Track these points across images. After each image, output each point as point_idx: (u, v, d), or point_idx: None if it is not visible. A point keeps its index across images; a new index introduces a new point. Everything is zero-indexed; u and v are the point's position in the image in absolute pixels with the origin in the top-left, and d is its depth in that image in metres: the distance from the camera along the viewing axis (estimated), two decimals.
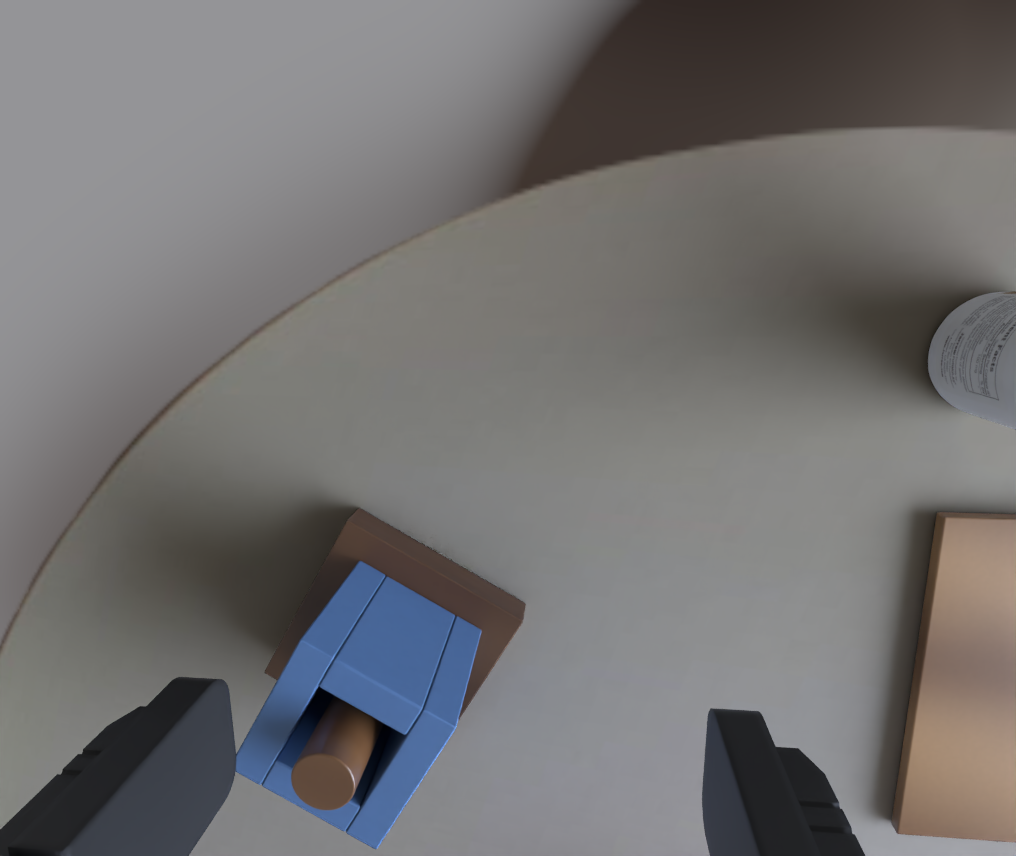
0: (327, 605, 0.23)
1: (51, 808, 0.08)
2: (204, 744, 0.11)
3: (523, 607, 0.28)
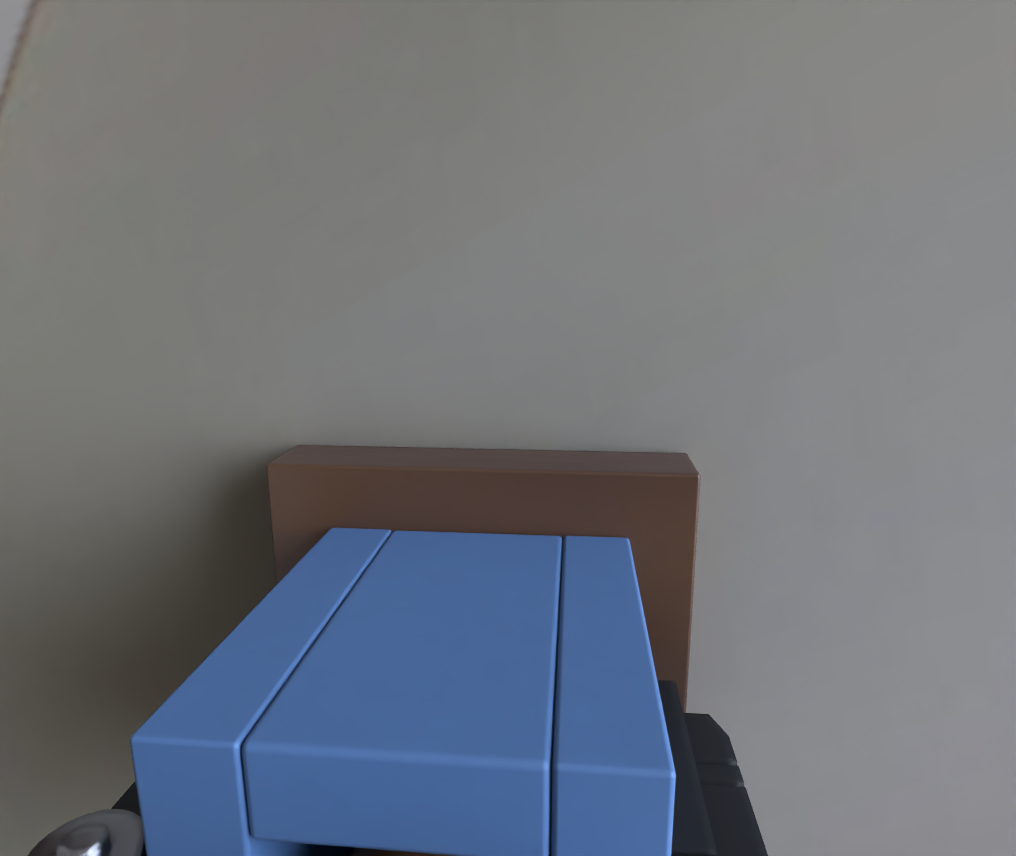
0: (237, 627, 0.09)
1: None
2: None
3: (686, 458, 0.13)
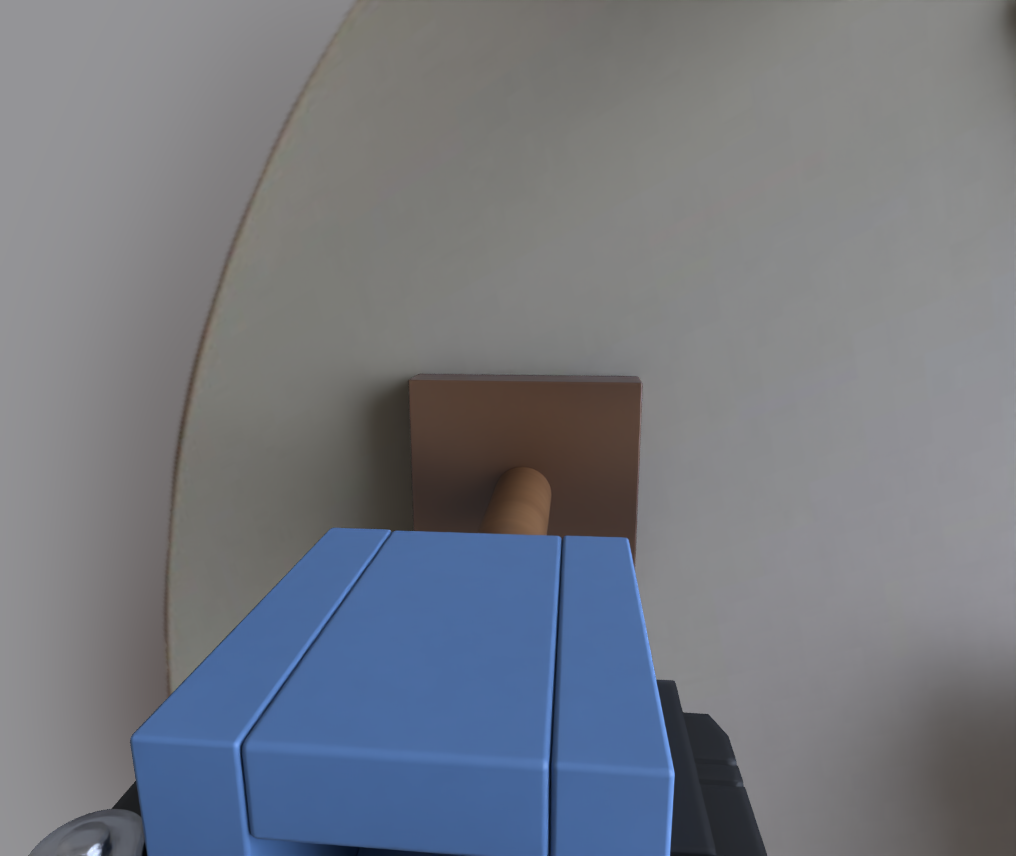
0: (238, 627, 0.09)
1: None
2: None
3: (637, 378, 0.24)
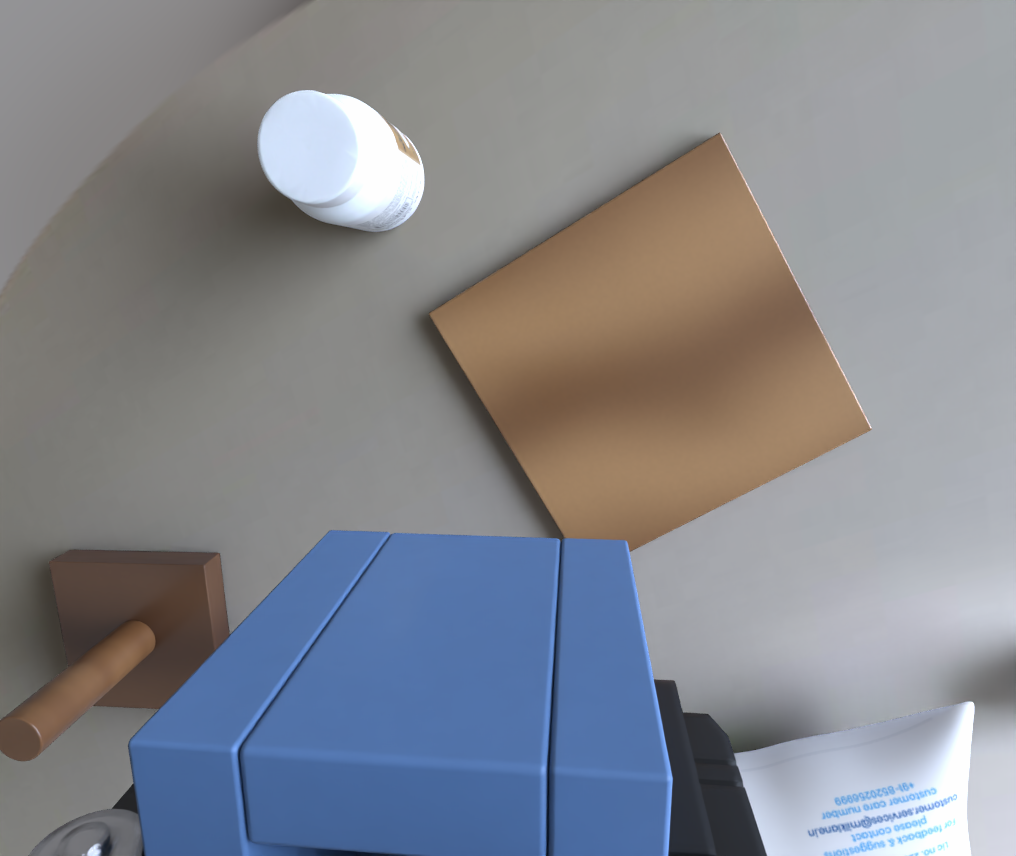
0: (236, 630, 0.09)
1: None
2: None
3: (213, 556, 0.33)
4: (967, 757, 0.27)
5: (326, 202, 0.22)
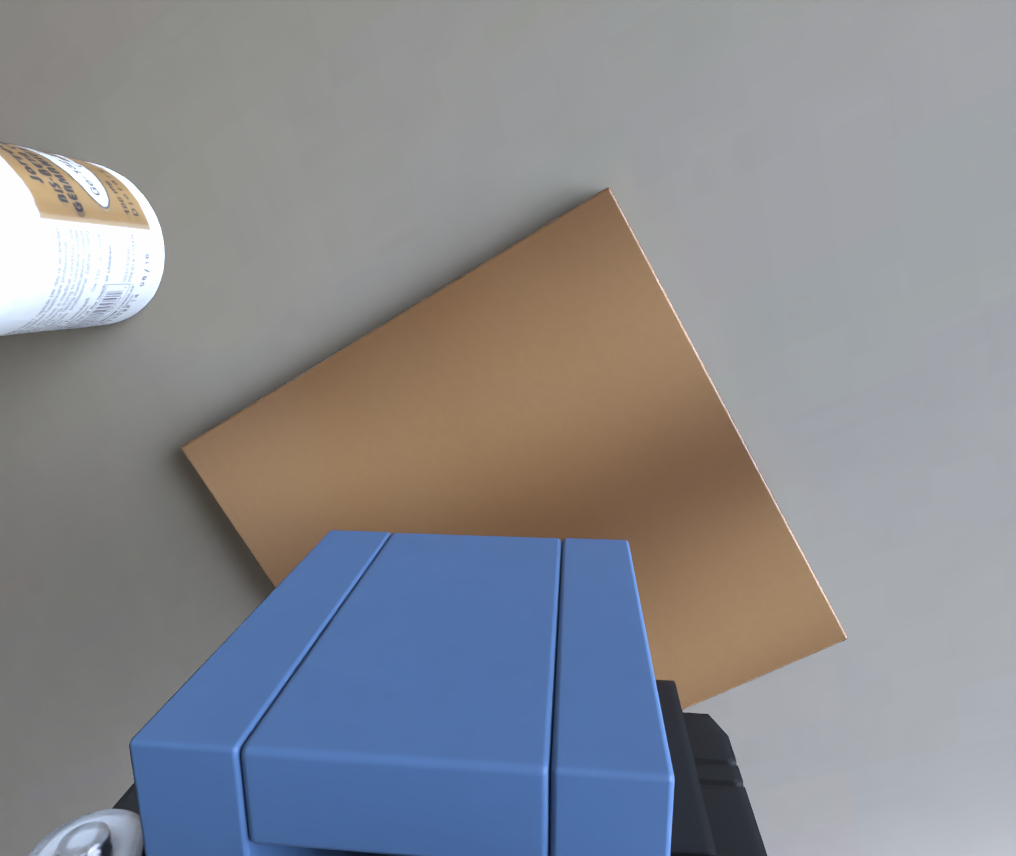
0: (237, 630, 0.09)
1: None
2: None
3: None
4: None
5: None
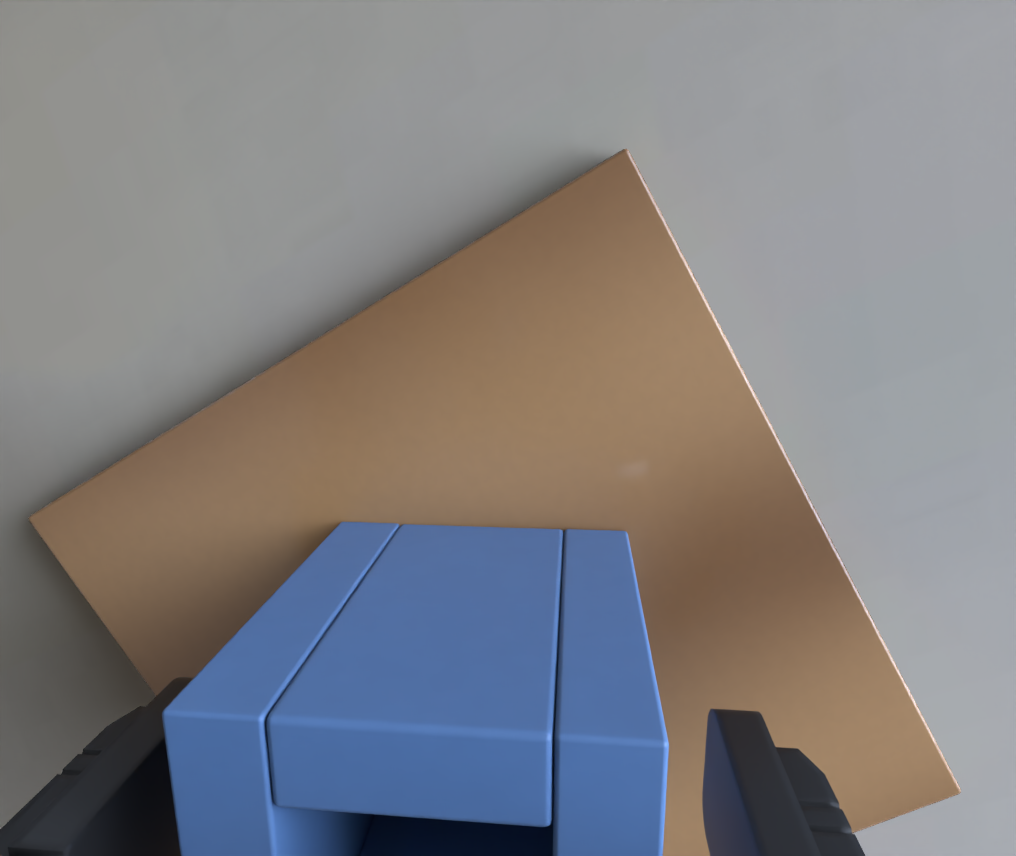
0: (257, 613, 0.10)
1: (51, 808, 0.08)
2: None
3: None
4: None
5: None
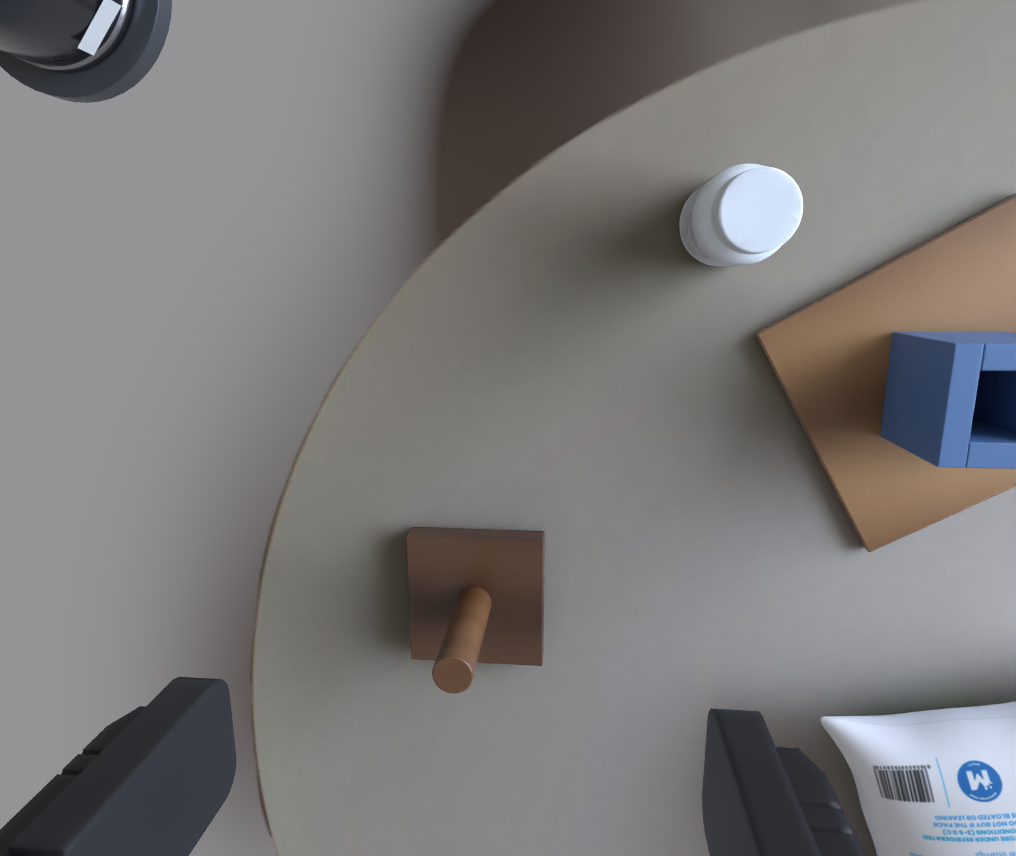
0: (929, 338, 0.31)
1: (51, 808, 0.08)
2: (204, 744, 0.11)
3: (542, 533, 0.40)
4: None
5: (766, 251, 0.28)
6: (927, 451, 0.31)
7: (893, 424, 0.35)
